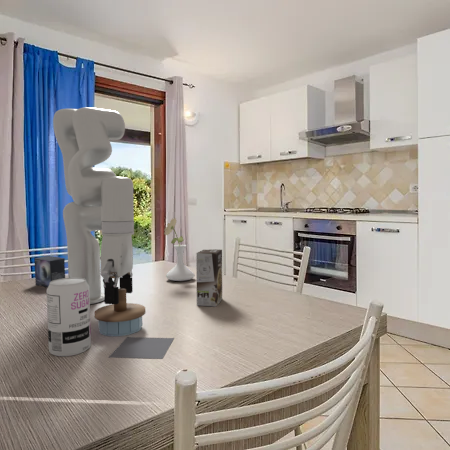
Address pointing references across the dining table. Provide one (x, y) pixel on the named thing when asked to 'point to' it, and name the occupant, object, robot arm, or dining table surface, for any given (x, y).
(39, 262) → the small box
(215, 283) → the coffee box
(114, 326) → the bowl
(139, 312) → the lid
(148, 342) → the mat
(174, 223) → the flower in vase
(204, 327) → the dining table surface
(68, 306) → the supplement can
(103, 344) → the dining table surface
